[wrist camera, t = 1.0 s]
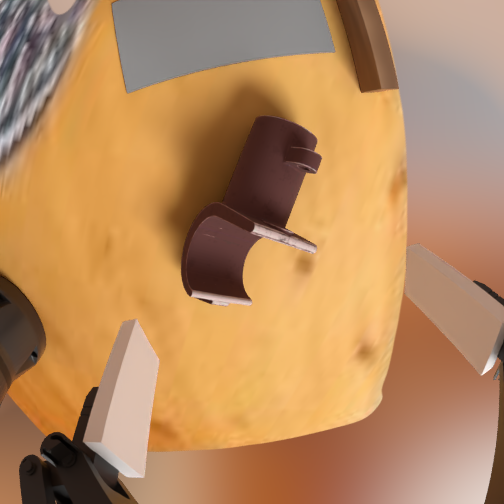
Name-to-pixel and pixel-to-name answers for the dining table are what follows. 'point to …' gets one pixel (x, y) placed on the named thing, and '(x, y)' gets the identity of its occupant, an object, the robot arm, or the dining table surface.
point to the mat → (212, 35)
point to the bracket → (249, 211)
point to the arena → (368, 45)
